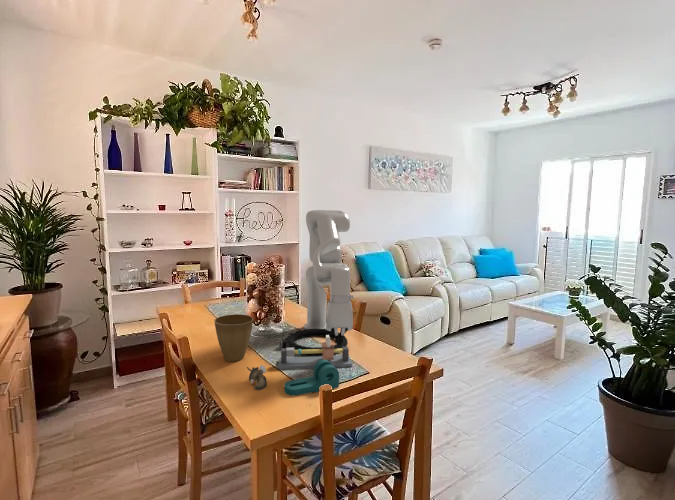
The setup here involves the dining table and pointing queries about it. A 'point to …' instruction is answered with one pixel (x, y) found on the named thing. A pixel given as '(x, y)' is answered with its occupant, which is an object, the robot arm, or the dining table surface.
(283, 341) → the cable lock
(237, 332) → the plant pot
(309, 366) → the linear slide rail
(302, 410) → the dining table surface
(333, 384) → the bracket
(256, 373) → the grey furry figure
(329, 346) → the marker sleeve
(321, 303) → the robot arm
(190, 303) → the dining table surface
